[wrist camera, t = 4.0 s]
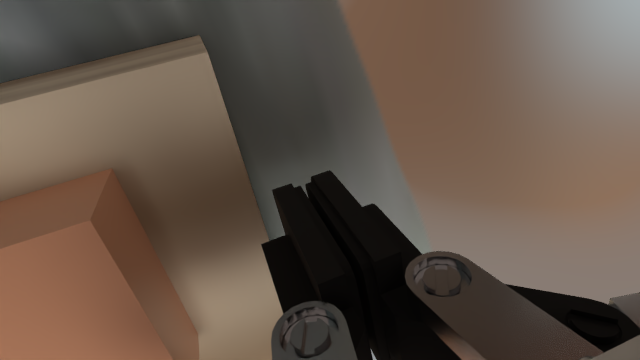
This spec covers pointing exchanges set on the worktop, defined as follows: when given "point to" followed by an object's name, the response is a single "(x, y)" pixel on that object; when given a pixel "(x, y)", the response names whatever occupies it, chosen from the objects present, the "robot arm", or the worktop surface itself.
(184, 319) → the tile
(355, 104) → the worktop surface
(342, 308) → the robot arm
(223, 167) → the bench plate
